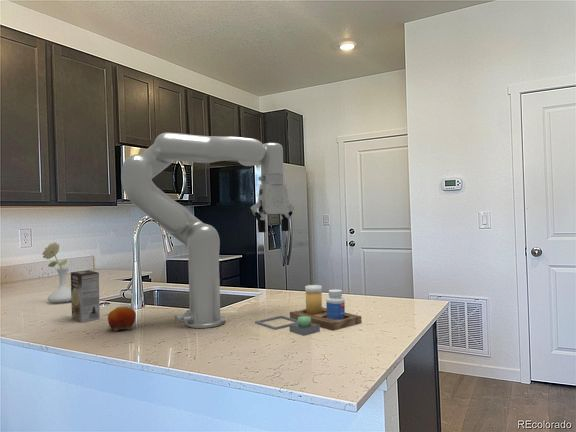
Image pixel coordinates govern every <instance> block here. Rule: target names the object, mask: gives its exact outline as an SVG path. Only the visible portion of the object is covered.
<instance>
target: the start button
mask: <svg viewBox="0 0 576 432" xmlns="http://www.w3.org/2000/svg"><path fill="white" fill-rule="evenodd" d="M298 325H299V326H310V325H311V317H309V316H300V317H298Z"/></svg>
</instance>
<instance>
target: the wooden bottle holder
mask: <svg viewBox="0 0 576 432" xmlns="http://www.w3.org/2000/svg"><path fill="white" fill-rule="evenodd" d="M300 316H309V317H311V322H312V323H315V324H319V325H320V329H326V330H329V331H338V330H340V329H344V328H348V327H351V326H356V325H359V324H362V315H357V314H354V313H350V312H349V313H348V312H345V319H341V320H336V321H335V320H331V319H327V307H323V306H322V313H321V314H316V315H311V314H307V313H306V308H304V309H299V310H294V311H289V318H292V319H296V320H298V317H300Z"/></svg>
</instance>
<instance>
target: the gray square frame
mask: <svg viewBox="0 0 576 432" xmlns="http://www.w3.org/2000/svg"><path fill="white" fill-rule="evenodd" d="M279 319H280V320H281V319H283V320H286V321H289V322H290V323H286V324H282V325H279V326H278V325H277V326H274V325H270V324H268V323H267V322H269V321H275V320H279ZM265 322H266V323H265ZM254 323H255V324H256V325H259V326H262V327H265V328H269V329H271V330H274V331H276V330H277V331H278V330H279V329H285V328H290V326H289V325H290V324H294V323H298V320H296V319H292V318H290V316H289V317H288V316H285V315H277V316H274V317H268V318H264V319H259V320H255V321H254Z"/></svg>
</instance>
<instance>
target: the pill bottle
mask: <svg viewBox="0 0 576 432" xmlns="http://www.w3.org/2000/svg"><path fill="white" fill-rule="evenodd" d="M325 304H326V305H325V306H326V307H325V308H327V319H331V320H335V321H336V320H341V319H345V313H346V308H345V307H346V306H345V304H346V302H345V299H344V297H343V290H342V289H329V290H328V297H327V298H326V303H325Z"/></svg>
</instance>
